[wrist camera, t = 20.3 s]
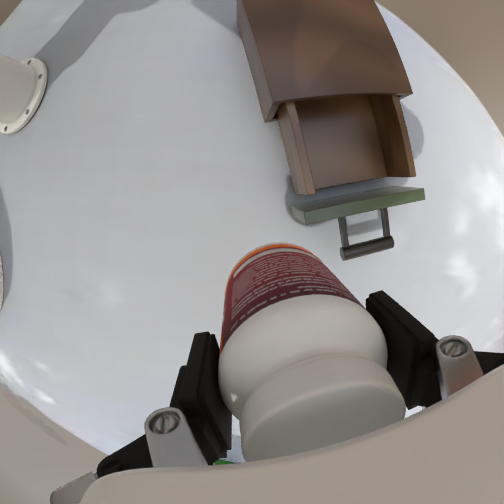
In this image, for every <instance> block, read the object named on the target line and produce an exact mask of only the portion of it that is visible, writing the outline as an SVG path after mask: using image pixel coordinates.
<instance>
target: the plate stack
mask: <svg viewBox="0 0 504 504" xmlns="http://www.w3.org/2000/svg"><path fill="white" fill-rule="evenodd" d="M2 301H3V270H2V262H1V255H0V310H1V306H2Z"/></svg>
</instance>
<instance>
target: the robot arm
mask: <svg viewBox="0 0 504 504" xmlns="http://www.w3.org/2000/svg"><path fill="white" fill-rule="evenodd" d="M46 83H47V68H46V65H45V64H44V62H43V61H41V60H39V59H37V58H30V59H27V60H25V61H23V62H22V63H21V62H19V61H16V60H14V59H11V58H9V57H7V56H4V55H2V54H0V132H1V133H4V134H13V133H15V132H17V131H19V130H20V129H22V128H23V127H24V126H25V125H26V124H27V123H28V121H29V120H30V119H31V118H32V116H33V114H34V113H35V111H36V110H37V108H38V106H39V104H40V102H41V99H42V97H43V94H44V91H45V88H46ZM366 310H367V311H368V312H369V313H370V314H371V316H372V317H373V318H374V320H375V321H376V322H377V324H378V325H379V326H380V328H381V330H382V332H383V334H384V337H385V340H386V343H387V350H388V361H387V369H386V371H387V372H388V373H389V374H390V376H391V377H392V379H393V381H394V382H395V384H396V386H397V388H398V389H399V391H400V392H401V394H402V396H403V399H404V401H405V405H406V407H407V409H408V410H410V409H412V408H414V407H416V406H418V405H419V406H422V411H420V412H418V413H416V414H413V415H411V416H409V417H407V418H405V419H402V420H400V421H398V422H395V423H393V424H391V425H388V426H386V427H383V428H381V429H378V430H375V431H373V432H370V433H367V434H365V435H362V436H359V437H356V438H353V439H350V440H347V441H343V442H340V443H337V444H333V445H330V446H326V447H323V448H319V449H315V450H311V451H307V452H302V453H298V454H293V455H288V456H283V457H278V458H272V459H266V460H259V461H252V462H244V463H235V464H224V465H215V464H214V463H215V462H216V461H217V460H219V458H227V450H231V435H232V413H231V412H230V410H229V409H228V408H227V406H226V405H225V403H224V401H223V399H222V396H221V393H220V390H219V384H218V365H219V353H220V349H219V346H218V343H217V340H216V337H215V335H214V334H211V335H210V333H209V332H202V333H196V334H195V335H194V339H193V343H192V346H191V350H190V354H189V358H188V362H187V365H185V366H181V368H180V370H179V374H178V377H177V381H176V384H175V388H174V392H173V395H172V399H171V403H170V407H166V408H161V409H159V410H156V411H154V412H153V413H152V414H150V415H149V416H148V418H147V419H146V421H145V427H144V428H145V433H146V434H144V435H143V436H141V437H140V438H138V439H136V440H135V441H133V442H131V443H130V444H128V445H126V446H125V447H123V448H121V449H120V450H118V451H116V452H114V453H113V454H111V455H109V456H107V457H106V458H105V459H103V460H102V461H101V462H100V463H99V465H98V467H97V473H95V474H94V473H92V472H89V473H87V474H86V475H84V476H82V477H80V478H78V479H76V480H74V481H72V482H70V483H68V484H66V485H64V486H62V487H59V488H57V489H56V490H55V491H53V493H52V494H51V497H50V503H51V504H504V353H492V352H478V351H473V349H472V346H471V344H470V343H469V341H468V340H466V339H465V338H463V337H461V336H456V335H452V336H446V337H443V338H442V339H440V340H438V339H437V338H436V337H435V335H434V334H433V333H432V332H430V331H429V330H428V329H427V328H426V327H425V326H424V325H422V324H421V323H420V322H419V321H418V320H417V319H416V318H414V317H413V316H412V315H411V314H410V313H409V312H408V311H406V310H405V309H404V308H403V307H402V306H400V305H399V304H398V303H397V302H396V301H395V300H393V299H392V298H391V297H390V296H389V295H387V294H386V293H385V292H384V291H378V292H375V293H371V294H370V295H369V298H367V299H366Z"/></svg>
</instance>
